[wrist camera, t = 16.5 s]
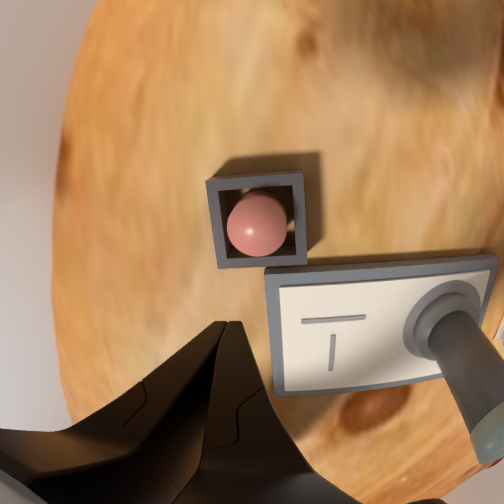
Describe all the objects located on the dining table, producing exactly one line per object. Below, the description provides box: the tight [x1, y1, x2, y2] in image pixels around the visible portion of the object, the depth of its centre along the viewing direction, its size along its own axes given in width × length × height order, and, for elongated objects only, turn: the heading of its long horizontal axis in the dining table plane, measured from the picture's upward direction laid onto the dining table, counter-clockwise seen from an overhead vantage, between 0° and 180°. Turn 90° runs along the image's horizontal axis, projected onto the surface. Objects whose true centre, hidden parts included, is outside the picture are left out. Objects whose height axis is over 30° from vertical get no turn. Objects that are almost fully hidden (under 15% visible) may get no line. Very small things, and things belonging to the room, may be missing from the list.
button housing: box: [206, 170, 307, 269], centre depth 20 cm, size 6×6×2 cm
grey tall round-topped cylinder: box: [413, 292, 504, 464], centre depth 15 cm, size 6×6×13 cm
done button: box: [227, 191, 287, 257], centre depth 19 cm, size 4×4×3 cm
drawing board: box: [264, 253, 499, 397], centre depth 23 cm, size 20×13×1 cm, turn 96°
